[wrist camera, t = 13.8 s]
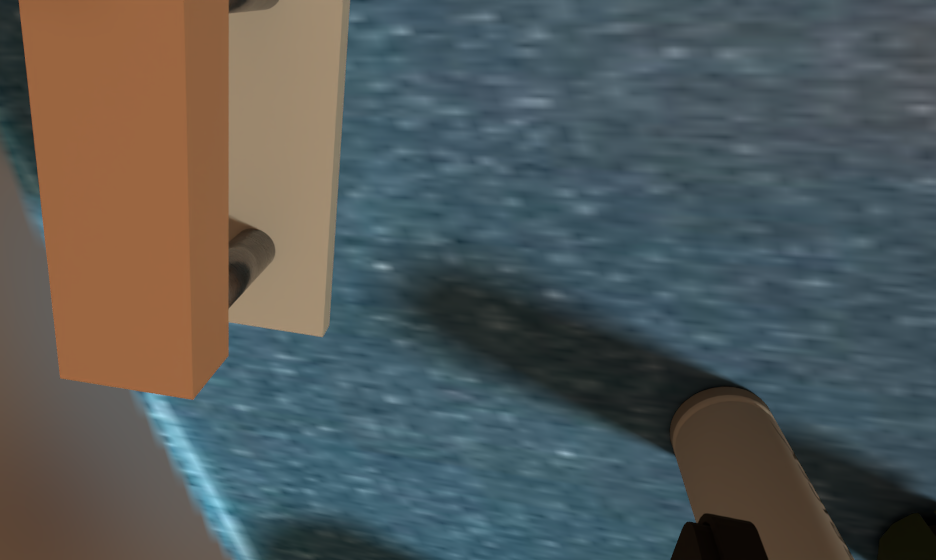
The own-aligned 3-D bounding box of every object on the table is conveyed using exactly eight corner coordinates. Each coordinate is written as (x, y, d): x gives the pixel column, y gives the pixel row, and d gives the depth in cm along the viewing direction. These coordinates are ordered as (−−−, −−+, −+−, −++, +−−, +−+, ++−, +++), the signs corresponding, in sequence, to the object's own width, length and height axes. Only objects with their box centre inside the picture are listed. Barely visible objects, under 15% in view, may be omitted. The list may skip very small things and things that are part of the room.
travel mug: (667, 473, 46) (760, 804, 27) (670, 385, 43) (776, 684, 25) (767, 472, 45) (932, 810, 27) (776, 383, 42) (966, 688, 24)
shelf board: (74, -122, 27) (3, -138, 23) (228, -99, 27) (181, -112, 23) (109, 336, 35) (60, 378, 31) (228, 355, 35) (192, 399, 31)
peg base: (113, -151, 34) (95, -157, 33) (357, -116, 34) (350, -120, 32) (138, 295, 44) (125, 305, 42) (329, 325, 43) (322, 336, 42)
